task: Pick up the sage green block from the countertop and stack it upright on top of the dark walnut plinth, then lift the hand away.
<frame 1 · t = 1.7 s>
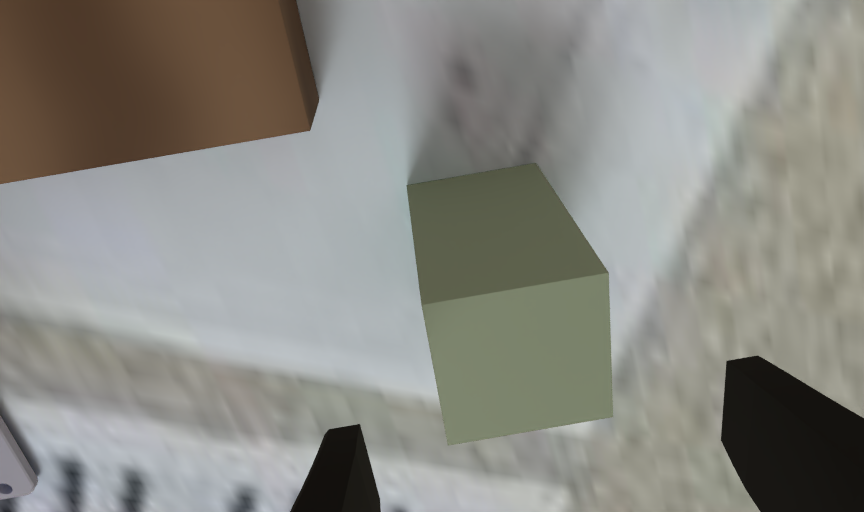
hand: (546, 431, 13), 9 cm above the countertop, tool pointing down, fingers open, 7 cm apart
block: (478, 232, 21), on the countertop
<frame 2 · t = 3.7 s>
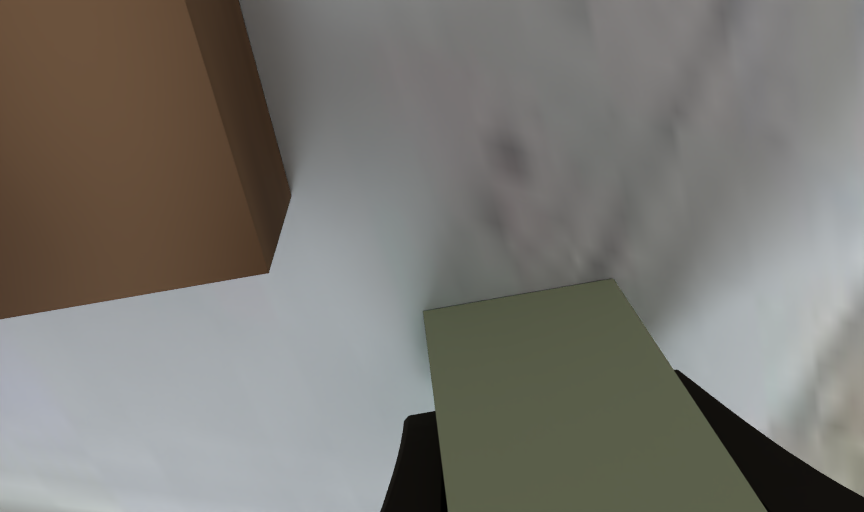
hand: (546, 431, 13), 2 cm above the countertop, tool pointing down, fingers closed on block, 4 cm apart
block: (526, 371, 15), on the countertop, touching gripper
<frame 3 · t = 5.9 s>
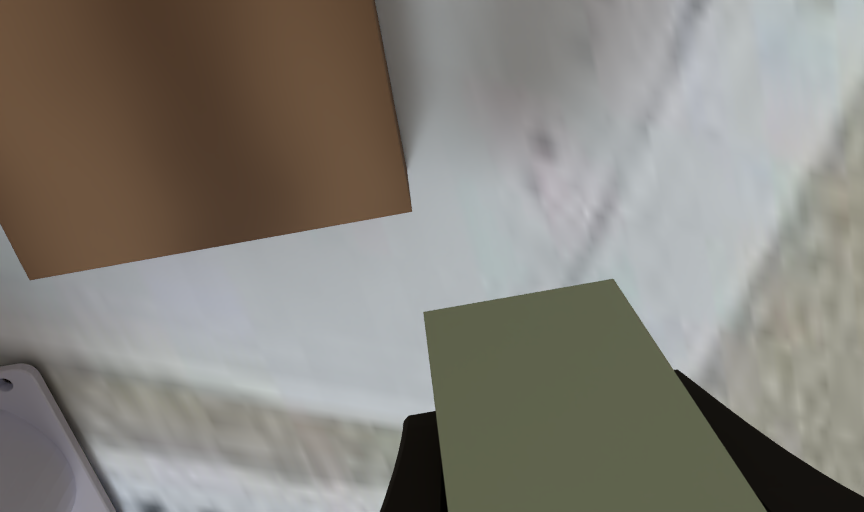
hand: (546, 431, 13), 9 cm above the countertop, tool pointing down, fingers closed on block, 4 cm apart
block: (526, 371, 15), point 7 cm above the countertop, touching gripper
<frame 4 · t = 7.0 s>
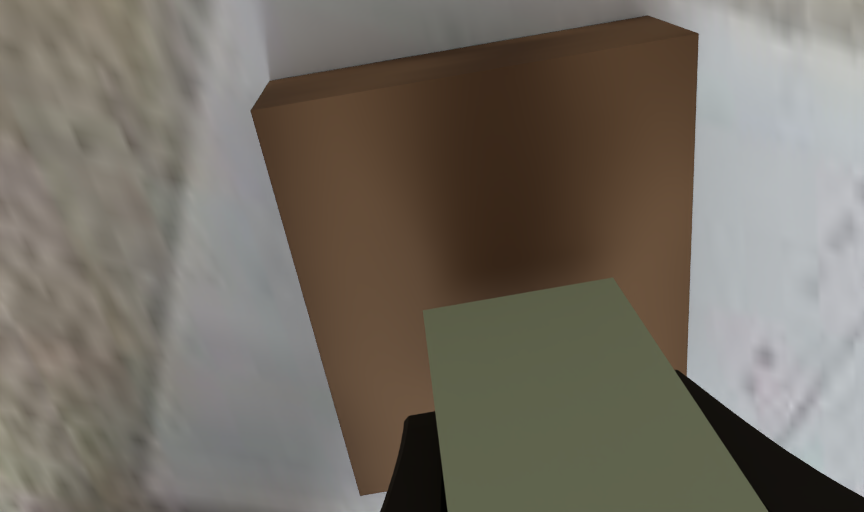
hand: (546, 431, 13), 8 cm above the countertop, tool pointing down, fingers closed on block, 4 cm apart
block: (526, 370, 15), point 6 cm above the countertop, touching gripper
plinth: (485, 250, 20), on the countertop
when the fingers open (6 cm above the countertop, at t = 8.2 s): block stays where it is, resting on plinth.
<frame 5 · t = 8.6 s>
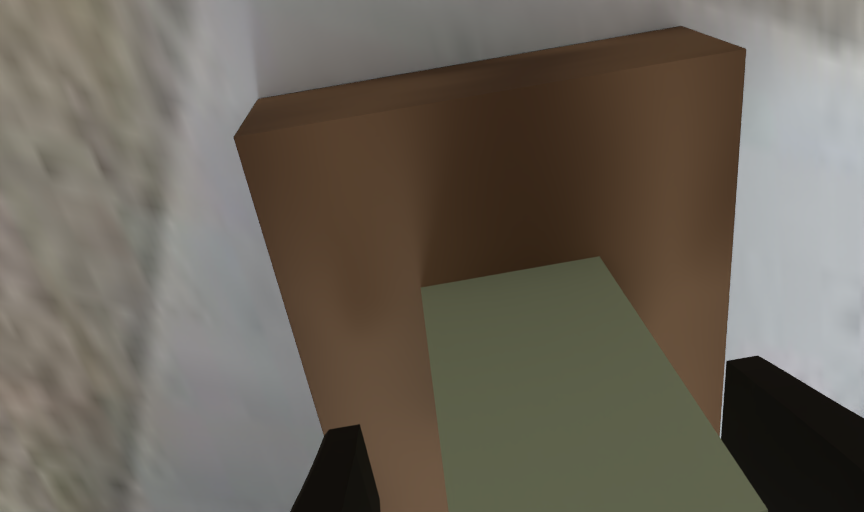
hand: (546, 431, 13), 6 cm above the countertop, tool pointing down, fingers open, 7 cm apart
block: (518, 345, 15), point 3 cm above the countertop, touching plinth
plinth: (496, 282, 18), on the countertop
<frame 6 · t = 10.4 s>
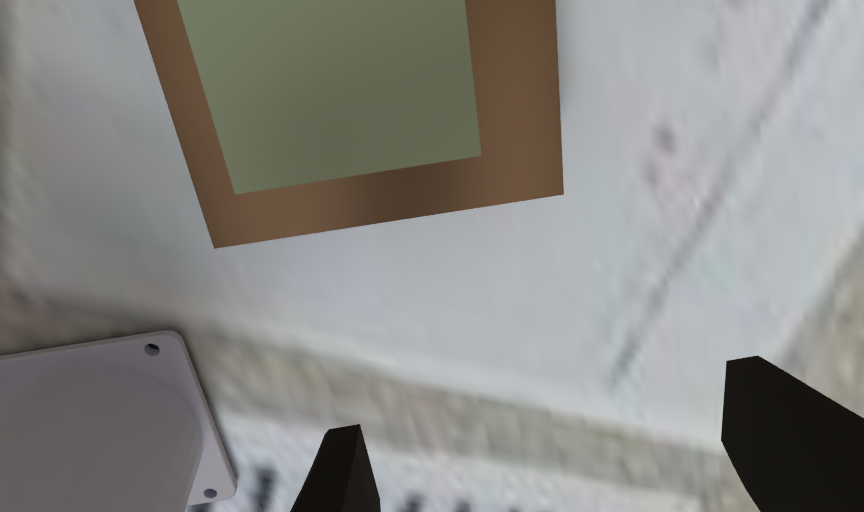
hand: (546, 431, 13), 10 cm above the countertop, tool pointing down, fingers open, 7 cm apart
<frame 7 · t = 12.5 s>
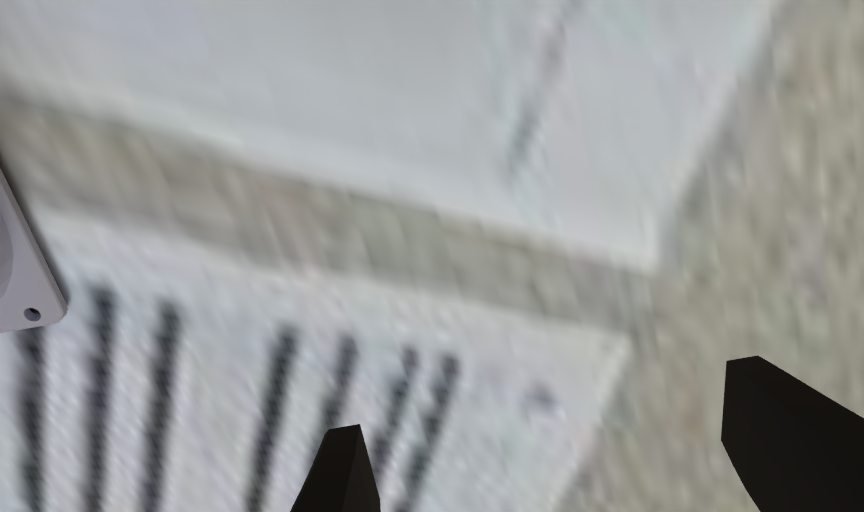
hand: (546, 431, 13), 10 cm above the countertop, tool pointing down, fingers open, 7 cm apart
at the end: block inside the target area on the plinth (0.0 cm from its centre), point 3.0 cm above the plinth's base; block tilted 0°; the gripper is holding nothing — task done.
